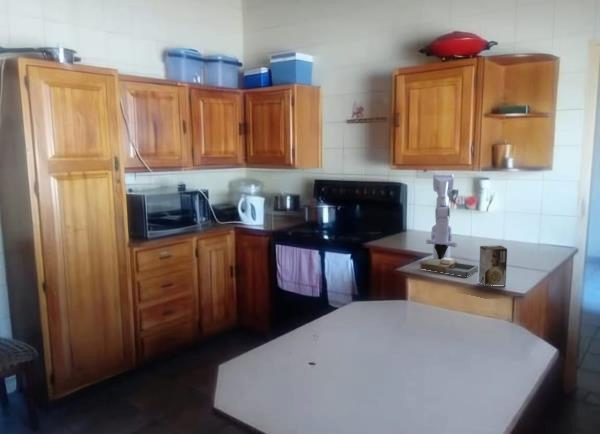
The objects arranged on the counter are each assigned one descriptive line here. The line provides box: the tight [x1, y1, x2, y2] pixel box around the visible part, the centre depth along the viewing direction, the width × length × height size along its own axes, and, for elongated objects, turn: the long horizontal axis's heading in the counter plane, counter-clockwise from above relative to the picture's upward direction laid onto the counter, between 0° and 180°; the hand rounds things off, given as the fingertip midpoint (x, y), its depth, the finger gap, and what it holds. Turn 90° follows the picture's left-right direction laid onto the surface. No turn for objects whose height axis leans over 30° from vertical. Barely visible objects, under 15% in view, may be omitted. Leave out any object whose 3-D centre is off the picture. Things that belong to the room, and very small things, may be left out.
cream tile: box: [441, 257, 455, 265], centre depth 224 cm, size 4×4×2 cm
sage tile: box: [426, 257, 441, 265], centre depth 223 cm, size 4×4×2 cm
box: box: [446, 262, 479, 278], centre depth 218 cm, size 14×10×2 cm
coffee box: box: [478, 245, 508, 287], centre depth 198 cm, size 9×6×16 cm
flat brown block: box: [420, 258, 458, 273], centre depth 225 cm, size 14×12×3 cm
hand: (440, 260), depth 227 cm, fingers closed
